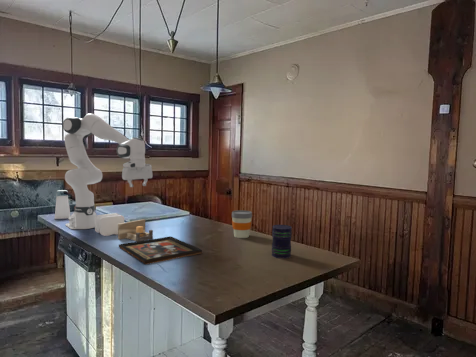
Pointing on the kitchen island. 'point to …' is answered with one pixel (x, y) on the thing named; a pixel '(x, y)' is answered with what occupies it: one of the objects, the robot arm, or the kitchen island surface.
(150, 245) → the framed icon painting
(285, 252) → the storage jar
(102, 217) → the cable organizer
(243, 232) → the reusable coffee cup
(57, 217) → the grater
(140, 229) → the banded tan cylinder
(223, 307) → the kitchen island surface
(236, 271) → the kitchen island surface
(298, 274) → the kitchen island surface
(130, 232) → the wooden trestle bench
